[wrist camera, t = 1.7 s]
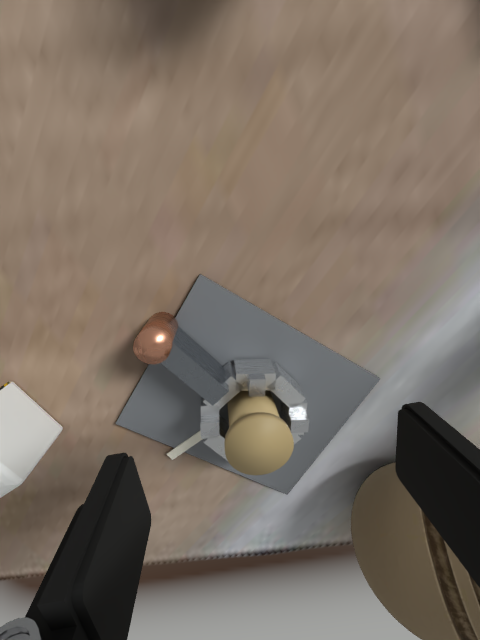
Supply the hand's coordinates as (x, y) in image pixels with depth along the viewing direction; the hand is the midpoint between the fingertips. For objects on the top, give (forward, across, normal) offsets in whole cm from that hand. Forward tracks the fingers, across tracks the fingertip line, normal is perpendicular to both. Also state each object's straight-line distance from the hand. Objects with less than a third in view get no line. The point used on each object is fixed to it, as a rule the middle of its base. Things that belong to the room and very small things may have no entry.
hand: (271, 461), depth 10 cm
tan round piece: (+19, -16, +25) cm, 35 cm away
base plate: (+19, 0, +10) cm, 21 cm away
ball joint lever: (+18, +2, +6) cm, 19 cm away
